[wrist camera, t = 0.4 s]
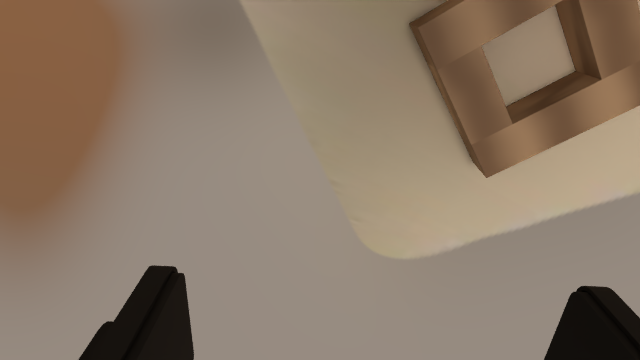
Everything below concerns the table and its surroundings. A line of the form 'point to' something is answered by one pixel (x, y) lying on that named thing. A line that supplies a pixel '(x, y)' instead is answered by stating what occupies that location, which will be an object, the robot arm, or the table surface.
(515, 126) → the collar
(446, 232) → the table surface
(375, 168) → the table surface
